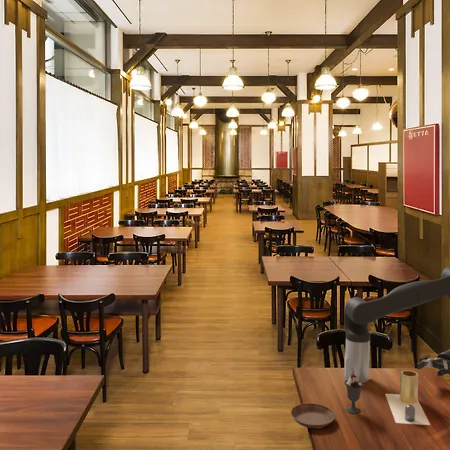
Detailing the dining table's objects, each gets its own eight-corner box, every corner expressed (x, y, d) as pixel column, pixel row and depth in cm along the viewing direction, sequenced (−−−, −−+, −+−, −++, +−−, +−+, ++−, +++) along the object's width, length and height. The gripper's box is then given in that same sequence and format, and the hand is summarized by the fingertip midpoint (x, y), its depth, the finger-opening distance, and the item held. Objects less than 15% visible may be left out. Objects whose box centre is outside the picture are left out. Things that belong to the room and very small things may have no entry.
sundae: (349, 404, 192) (351, 364, 191) (366, 410, 188) (367, 369, 186) (339, 410, 188) (340, 369, 186) (356, 417, 183) (357, 375, 181)
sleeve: (409, 405, 190) (410, 378, 188) (395, 398, 195) (397, 372, 193) (420, 400, 193) (421, 374, 192) (406, 394, 198) (408, 368, 197)
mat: (395, 425, 177) (395, 422, 177) (385, 396, 199) (385, 393, 199) (430, 427, 176) (430, 425, 176) (415, 397, 197) (415, 395, 197)
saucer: (326, 436, 171) (326, 428, 171) (283, 425, 178) (283, 417, 178) (340, 416, 184) (340, 409, 184) (299, 406, 191) (300, 399, 191)
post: (405, 421, 178) (406, 407, 177) (403, 416, 181) (404, 402, 181) (415, 422, 178) (416, 407, 177) (413, 417, 181) (414, 403, 180)
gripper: (435, 345, 214) (411, 355, 205) (469, 355, 203) (445, 366, 193) (435, 363, 215) (410, 373, 206) (468, 374, 204) (445, 386, 194)
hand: (427, 370), depth 199 cm, fingers open, 8 cm apart
